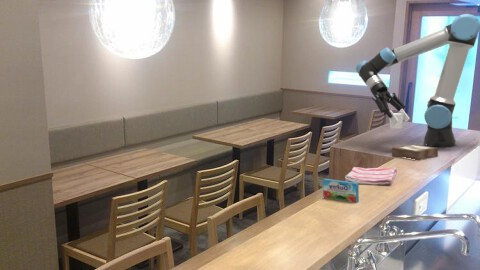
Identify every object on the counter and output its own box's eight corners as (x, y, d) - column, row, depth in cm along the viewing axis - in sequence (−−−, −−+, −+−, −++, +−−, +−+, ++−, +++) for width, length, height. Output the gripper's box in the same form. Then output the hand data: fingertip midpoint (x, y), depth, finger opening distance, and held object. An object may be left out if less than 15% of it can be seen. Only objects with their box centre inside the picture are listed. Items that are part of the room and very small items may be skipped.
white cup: (400, 129, 218) (400, 114, 217) (386, 128, 222) (386, 114, 221) (405, 127, 223) (406, 113, 222) (391, 126, 227) (391, 112, 226)
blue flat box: (323, 197, 154) (322, 179, 153) (325, 196, 155) (325, 178, 154) (356, 203, 146) (356, 183, 145) (358, 201, 147) (358, 182, 146)
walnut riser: (412, 152, 221) (412, 144, 221) (437, 156, 209) (437, 147, 209) (391, 156, 215) (391, 147, 214) (416, 160, 202) (416, 151, 202)
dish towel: (343, 185, 170) (343, 175, 170) (354, 171, 191) (354, 162, 191) (391, 187, 163) (391, 178, 163) (397, 172, 185) (397, 164, 184)
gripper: (387, 90, 238) (412, 124, 226) (358, 93, 229) (382, 128, 217) (395, 80, 233) (421, 114, 221) (365, 82, 223) (391, 118, 212)
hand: (402, 121), depth 219 cm, fingers closed on white cup, 7 cm apart
